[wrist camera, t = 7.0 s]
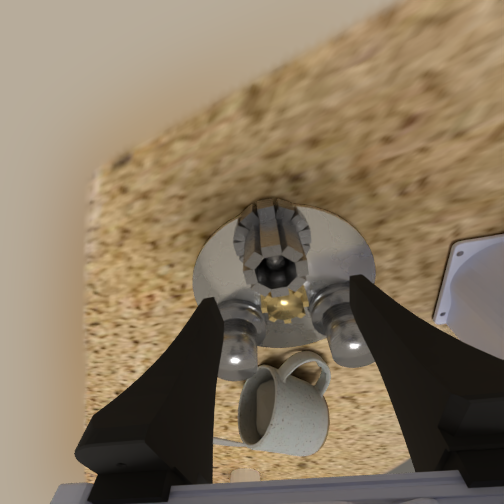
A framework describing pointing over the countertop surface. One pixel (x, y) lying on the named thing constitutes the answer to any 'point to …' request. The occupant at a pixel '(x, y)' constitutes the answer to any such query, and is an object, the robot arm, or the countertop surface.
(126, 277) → the countertop surface
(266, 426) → the ceramic mug
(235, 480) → the white short cylinder
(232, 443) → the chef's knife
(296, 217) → the planet gear
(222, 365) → the carrier
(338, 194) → the countertop surface
